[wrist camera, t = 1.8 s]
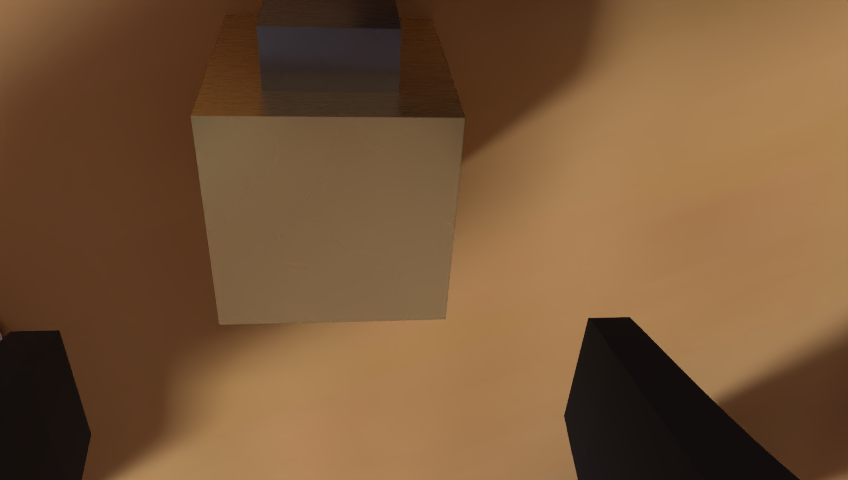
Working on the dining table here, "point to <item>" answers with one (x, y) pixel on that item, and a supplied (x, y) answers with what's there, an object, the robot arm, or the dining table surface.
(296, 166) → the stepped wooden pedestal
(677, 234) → the dining table surface
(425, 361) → the dining table surface
